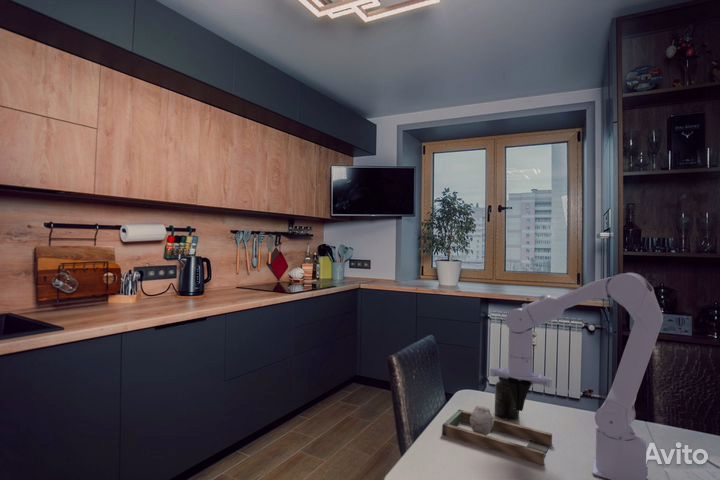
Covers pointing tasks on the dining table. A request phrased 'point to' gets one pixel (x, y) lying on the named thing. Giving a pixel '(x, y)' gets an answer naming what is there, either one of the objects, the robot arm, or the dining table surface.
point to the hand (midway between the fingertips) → (519, 409)
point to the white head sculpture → (481, 420)
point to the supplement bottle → (505, 401)
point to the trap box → (530, 453)
